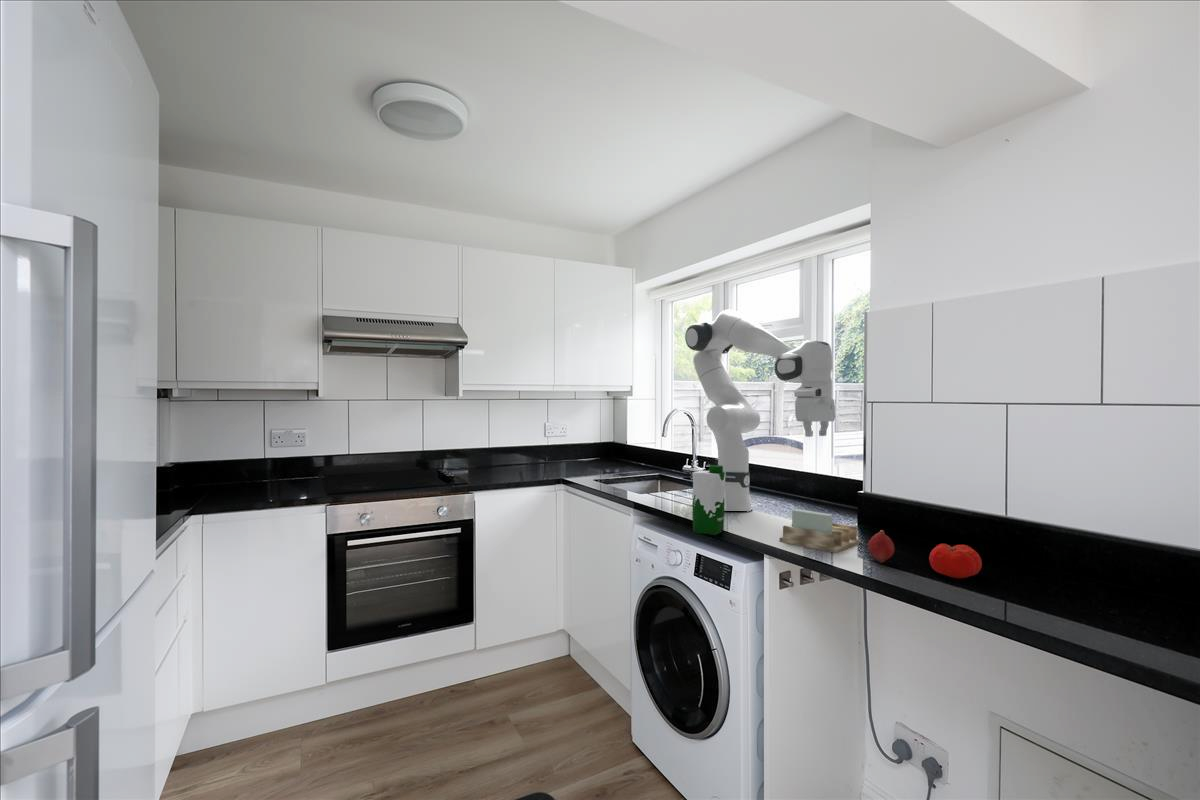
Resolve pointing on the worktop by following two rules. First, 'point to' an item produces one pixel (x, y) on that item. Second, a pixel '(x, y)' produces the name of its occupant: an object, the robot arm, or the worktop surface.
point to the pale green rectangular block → (812, 521)
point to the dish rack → (822, 537)
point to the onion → (881, 547)
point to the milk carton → (708, 500)
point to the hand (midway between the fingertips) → (816, 436)
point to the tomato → (955, 560)
